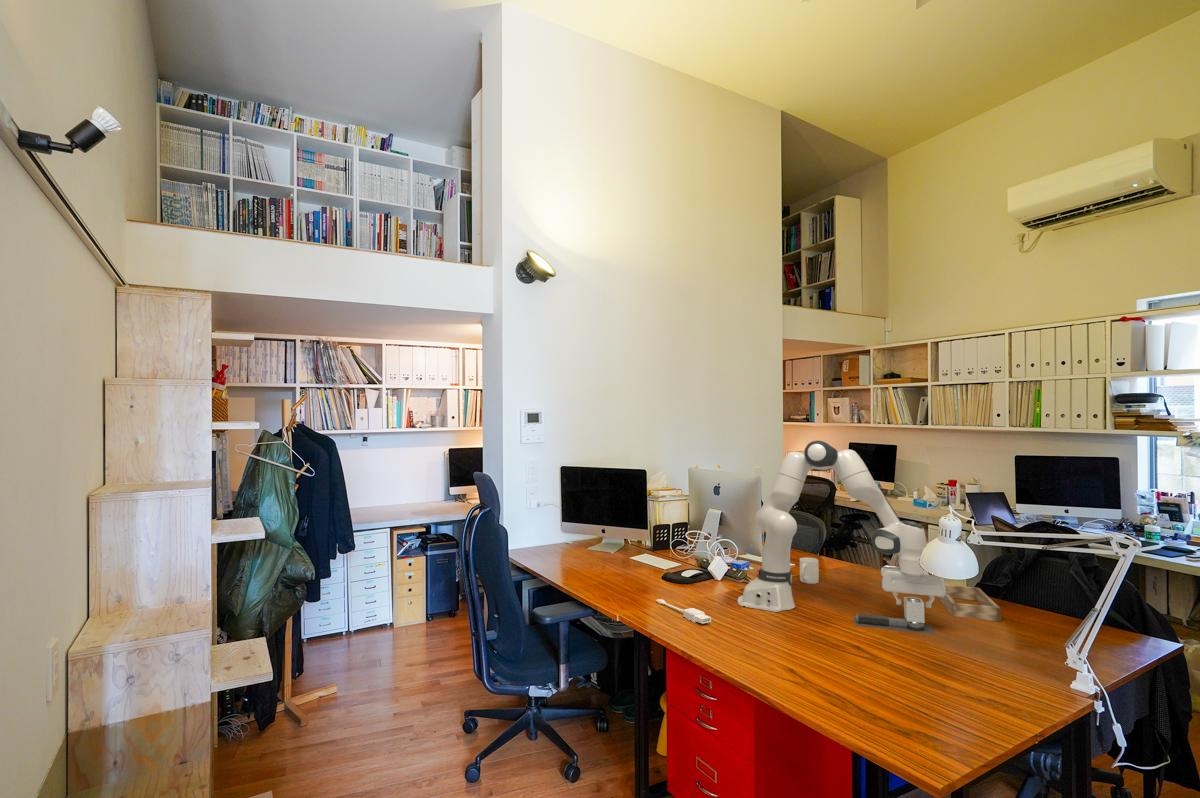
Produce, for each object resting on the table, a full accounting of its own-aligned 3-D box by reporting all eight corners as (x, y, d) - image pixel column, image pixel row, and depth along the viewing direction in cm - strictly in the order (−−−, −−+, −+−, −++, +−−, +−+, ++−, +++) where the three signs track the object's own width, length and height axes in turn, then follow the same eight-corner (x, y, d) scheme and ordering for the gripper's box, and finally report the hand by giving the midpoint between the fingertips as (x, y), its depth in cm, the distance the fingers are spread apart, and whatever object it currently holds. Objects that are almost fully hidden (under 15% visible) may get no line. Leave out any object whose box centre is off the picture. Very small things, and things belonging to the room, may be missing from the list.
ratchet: (857, 624, 207) (857, 602, 208) (856, 619, 213) (855, 597, 213) (925, 631, 200) (925, 608, 200) (922, 626, 206) (921, 603, 206)
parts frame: (953, 616, 217) (953, 603, 217) (937, 596, 244) (936, 584, 244) (1001, 621, 212) (1000, 607, 212) (979, 599, 238) (978, 587, 238)
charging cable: (661, 603, 237) (661, 595, 238) (712, 623, 209) (711, 614, 209) (651, 605, 235) (651, 597, 235) (701, 626, 207) (700, 616, 207)
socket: (906, 621, 202) (906, 599, 203) (904, 616, 208) (903, 595, 208) (924, 623, 200) (924, 601, 201) (921, 618, 206) (921, 596, 206)
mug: (810, 586, 258) (809, 563, 258) (793, 583, 264) (792, 560, 264) (821, 581, 266) (821, 559, 267) (805, 578, 272) (804, 556, 272)
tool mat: (854, 626, 207) (854, 625, 207) (852, 618, 215) (852, 617, 215) (936, 635, 198) (936, 633, 198) (930, 626, 206) (930, 625, 206)
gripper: (881, 566, 205) (882, 605, 205) (946, 571, 198) (947, 612, 198) (879, 562, 211) (880, 600, 211) (942, 567, 204) (943, 606, 204)
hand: (913, 606), depth 204 cm, fingers open, 8 cm apart
